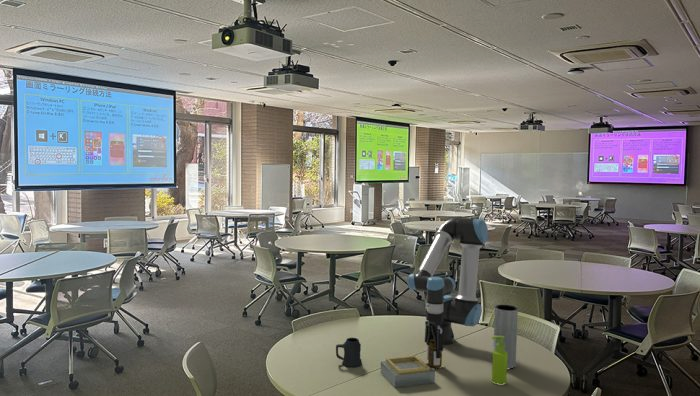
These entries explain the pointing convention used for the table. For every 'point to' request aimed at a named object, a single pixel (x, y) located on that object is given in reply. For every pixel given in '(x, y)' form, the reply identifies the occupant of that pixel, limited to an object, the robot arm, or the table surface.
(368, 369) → the table surface
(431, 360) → the condiment
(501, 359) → the soap dispenser
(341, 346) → the mug
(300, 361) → the table surface
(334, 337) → the table surface
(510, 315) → the vase
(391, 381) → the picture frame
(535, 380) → the table surface
